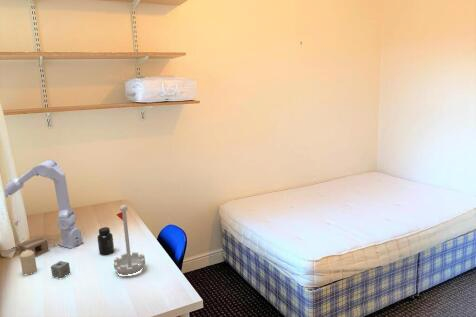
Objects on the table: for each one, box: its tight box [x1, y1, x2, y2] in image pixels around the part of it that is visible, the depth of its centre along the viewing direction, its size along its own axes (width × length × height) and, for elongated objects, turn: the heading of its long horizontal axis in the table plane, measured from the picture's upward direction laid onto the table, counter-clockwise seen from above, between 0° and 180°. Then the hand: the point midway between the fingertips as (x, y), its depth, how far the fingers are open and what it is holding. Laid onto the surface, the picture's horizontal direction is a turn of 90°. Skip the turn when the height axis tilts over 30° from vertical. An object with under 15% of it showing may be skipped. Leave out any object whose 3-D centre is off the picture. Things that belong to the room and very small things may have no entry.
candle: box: [19, 250, 38, 275], centre depth 163 cm, size 6×6×10 cm
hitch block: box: [17, 236, 50, 258], centre depth 181 cm, size 8×10×6 cm
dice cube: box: [50, 260, 71, 279], centre depth 160 cm, size 5×5×5 cm
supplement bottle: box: [97, 226, 115, 256], centre depth 179 cm, size 7×7×12 cm
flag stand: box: [113, 204, 146, 275], centre depth 159 cm, size 13×13×30 cm
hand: (11, 236), depth 188 cm, fingers closed
